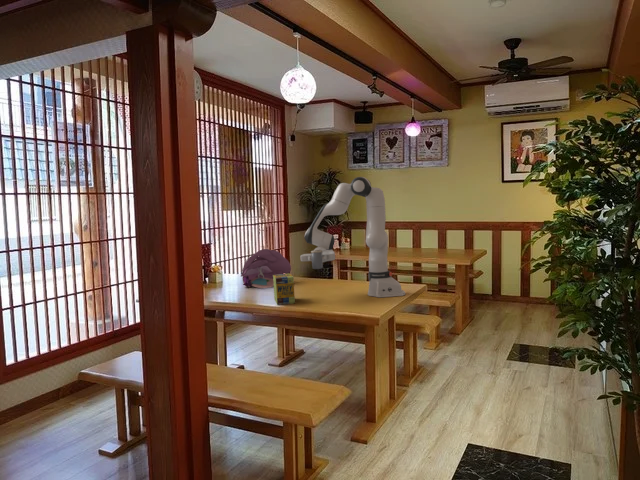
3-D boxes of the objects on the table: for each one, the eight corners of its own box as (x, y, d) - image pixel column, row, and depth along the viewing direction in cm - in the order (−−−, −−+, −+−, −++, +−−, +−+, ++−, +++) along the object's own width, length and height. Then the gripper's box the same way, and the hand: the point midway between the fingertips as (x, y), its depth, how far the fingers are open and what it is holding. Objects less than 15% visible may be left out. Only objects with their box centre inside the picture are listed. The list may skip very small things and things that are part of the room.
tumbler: (323, 266, 285) (322, 249, 284) (322, 268, 279) (321, 251, 278) (312, 267, 286) (311, 250, 285) (311, 269, 280) (310, 251, 279)
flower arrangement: (254, 298, 333) (253, 258, 324) (232, 288, 348) (231, 249, 340) (291, 284, 357) (292, 246, 349) (270, 275, 372) (269, 239, 364)
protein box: (277, 305, 284) (275, 278, 282) (274, 299, 299) (272, 274, 297) (295, 303, 286) (293, 276, 284) (291, 298, 301) (290, 273, 299)
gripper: (301, 251, 295) (298, 254, 282) (335, 249, 294) (334, 252, 280) (302, 261, 296) (299, 265, 282) (336, 259, 294) (334, 263, 280)
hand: (316, 258), depth 281 cm, fingers closed on tumbler, 6 cm apart
